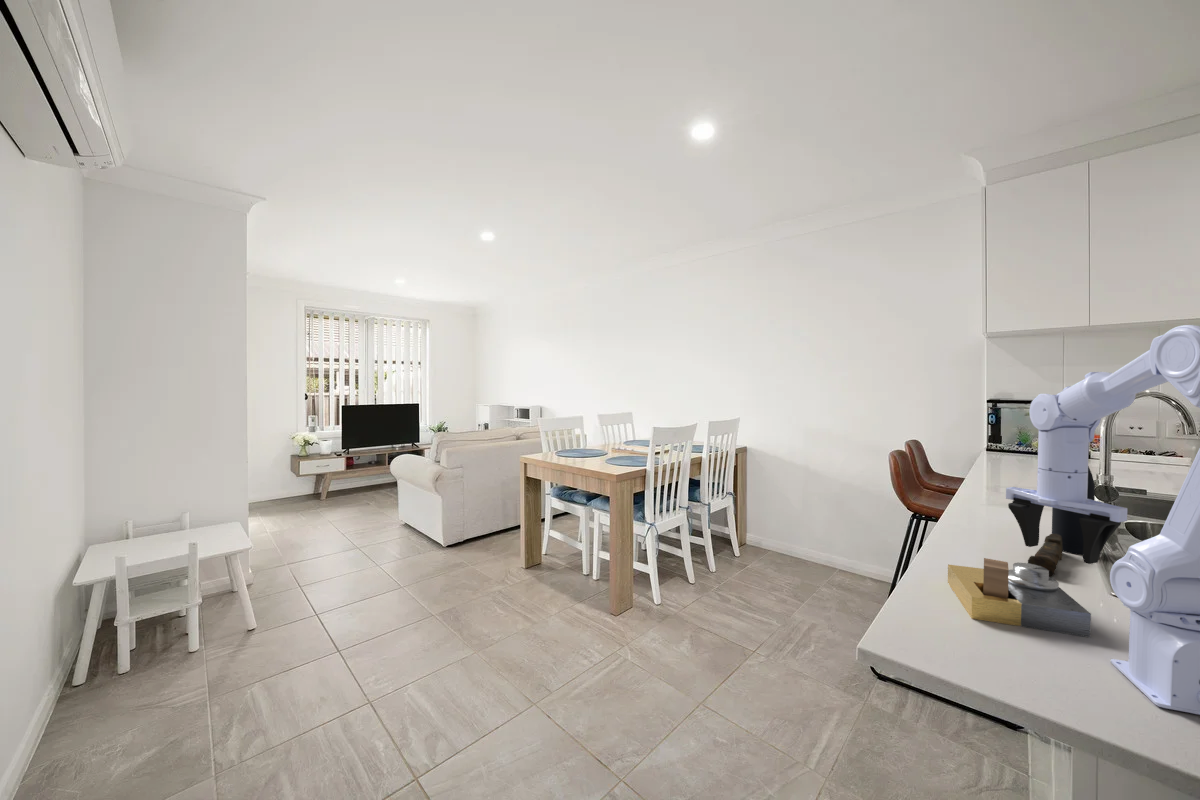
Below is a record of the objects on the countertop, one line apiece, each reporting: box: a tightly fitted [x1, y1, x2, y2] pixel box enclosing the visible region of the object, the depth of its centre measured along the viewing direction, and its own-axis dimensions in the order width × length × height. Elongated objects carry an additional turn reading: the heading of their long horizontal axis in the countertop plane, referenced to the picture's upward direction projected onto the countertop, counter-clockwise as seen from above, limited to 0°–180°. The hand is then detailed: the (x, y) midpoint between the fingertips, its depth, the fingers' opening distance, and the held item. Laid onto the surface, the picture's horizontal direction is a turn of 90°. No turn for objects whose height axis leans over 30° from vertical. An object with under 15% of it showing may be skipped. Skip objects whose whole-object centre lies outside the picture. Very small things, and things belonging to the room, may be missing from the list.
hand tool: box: [1027, 533, 1063, 578], centre depth 95 cm, size 19×4×5 cm, turn 127°
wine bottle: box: [1051, 465, 1096, 556], centre depth 102 cm, size 6×6×30 cm
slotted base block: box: [947, 562, 1092, 638], centre depth 77 cm, size 14×14×6 cm
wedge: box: [983, 557, 1010, 598], centre depth 76 cm, size 4×3×8 cm
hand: (1059, 553), depth 75 cm, fingers open, 7 cm apart
